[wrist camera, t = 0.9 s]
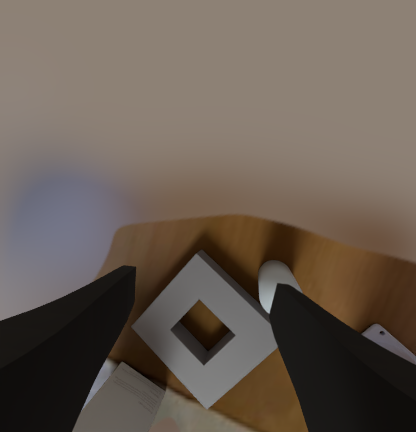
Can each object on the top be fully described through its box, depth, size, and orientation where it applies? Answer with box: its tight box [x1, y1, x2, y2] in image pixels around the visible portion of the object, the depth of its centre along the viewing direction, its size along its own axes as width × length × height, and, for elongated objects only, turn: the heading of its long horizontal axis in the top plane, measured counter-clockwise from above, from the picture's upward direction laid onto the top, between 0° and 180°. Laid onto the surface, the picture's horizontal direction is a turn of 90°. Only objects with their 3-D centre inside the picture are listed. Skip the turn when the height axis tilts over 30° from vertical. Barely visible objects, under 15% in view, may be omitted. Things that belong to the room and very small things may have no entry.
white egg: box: [258, 260, 302, 313], centre depth 22 cm, size 4×4×6 cm
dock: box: [131, 249, 278, 409], centre depth 26 cm, size 14×14×2 cm
